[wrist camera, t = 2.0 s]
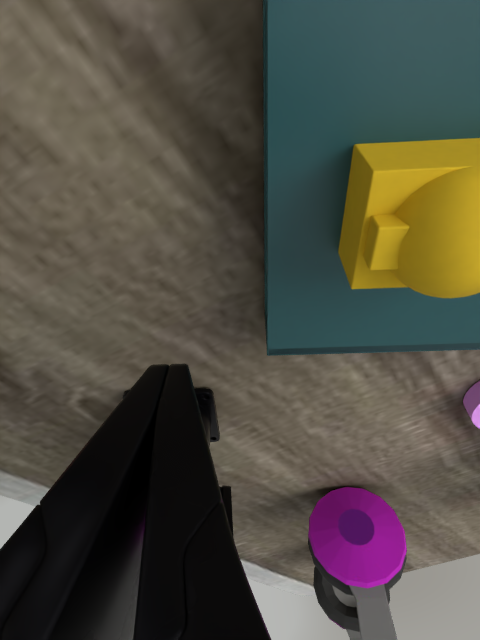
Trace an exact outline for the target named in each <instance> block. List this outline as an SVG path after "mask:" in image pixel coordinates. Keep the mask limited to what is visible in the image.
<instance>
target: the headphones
mask: <svg viewBox="0 0 480 640" xmlns="http://www.w3.org/2000/svg"><path fill="white" fill-rule="evenodd" d="M308 545H309V549H310V552H311V555H312V558H313V562H314V564H315V568H314V589H315V592H316V596H317V599H318V603H319V604H320V606H321V607H322V609H323V610H324V612H325V613H326V614H327V616H328V617H329V619H331V620H332V621H333V622H335V623H336V624H337V625H339V626H340V627H342V628H343V629H346V630H347V632H348V635H349V637H350V640H397V636H396V632H395V628H394V624H393V620H392V616H391V613H390V608H389V601H390V593H389V589H390V588H391V587H392V586H393V585H394V584H396V583H397V581H398V580H399V579H400V578H401V575H402V572H403V569H404V566H405V562H406V552H407V548H406V540H405V532H404V529H403V527H402V525H401V523H400V521H399V519H398V517H397V515H396V513H395V512H394V510H393V509H392V508H391V507H390V506H389V505H388V504H387V503H386V502H385V501H384V500H383V499H382V498H381V497H379V496H377V495H375V494H373V493H371V492H369V491H367V490H365V489H361V488H352V487H344V488H340V489H336V490H333V491H330V492H329V493H328V494H326V495H325V496H324V497H323V498H321V499H320V500H319V501H318V502H317V504H316V506H315V508H314V510H313V512H312V514H311V516H310V520H309V534H308Z"/></svg>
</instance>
